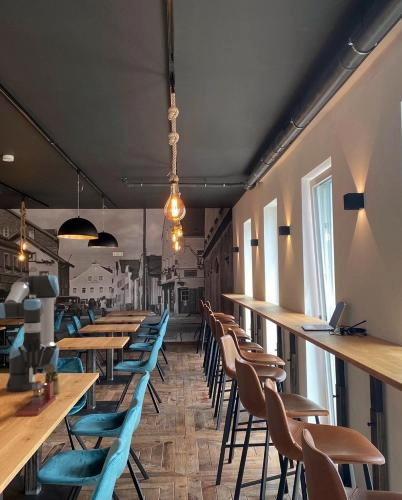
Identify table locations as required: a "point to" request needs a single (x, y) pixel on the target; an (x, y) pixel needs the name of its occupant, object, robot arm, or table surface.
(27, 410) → the nutcracker base
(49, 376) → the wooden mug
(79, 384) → the table surface
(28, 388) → the nutcracker lever
